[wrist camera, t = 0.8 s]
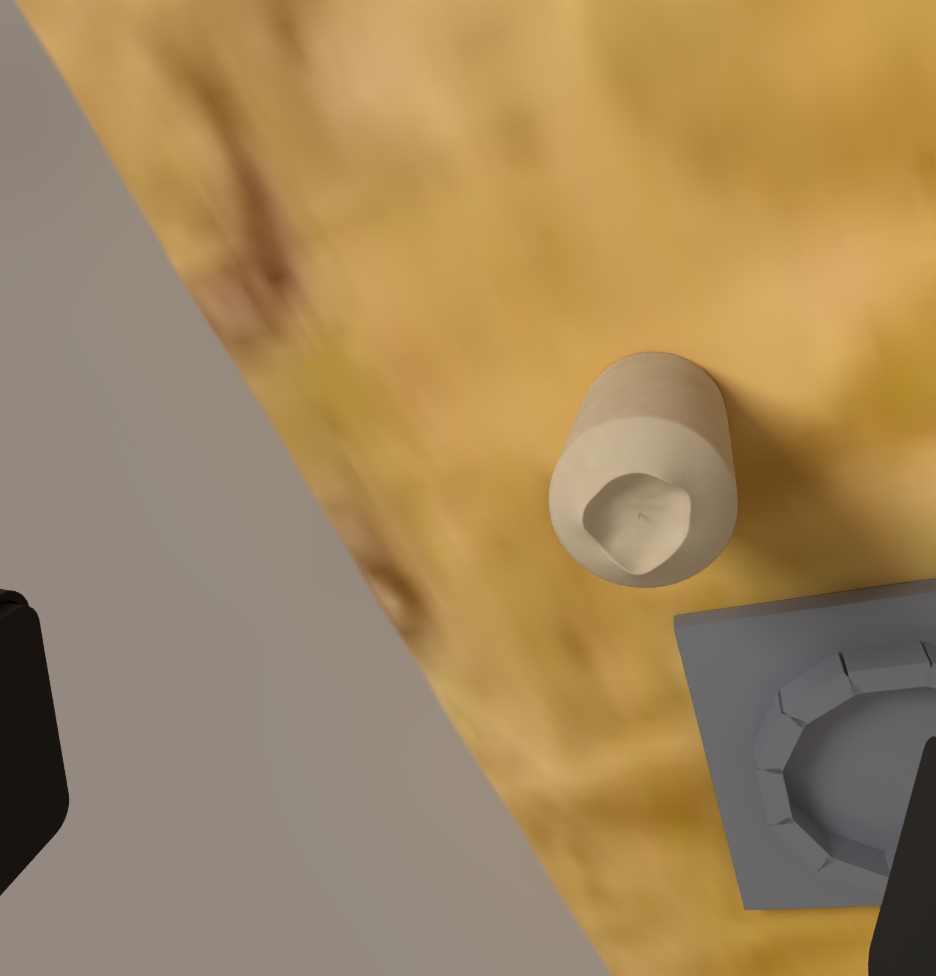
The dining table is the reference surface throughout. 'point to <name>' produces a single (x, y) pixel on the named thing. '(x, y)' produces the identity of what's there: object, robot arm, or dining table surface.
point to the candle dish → (814, 735)
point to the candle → (647, 474)
